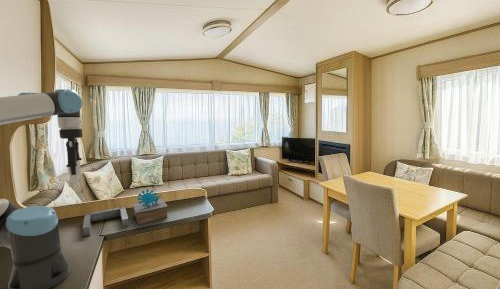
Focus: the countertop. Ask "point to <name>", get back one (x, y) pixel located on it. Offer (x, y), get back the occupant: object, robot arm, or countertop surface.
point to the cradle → (104, 215)
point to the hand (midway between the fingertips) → (76, 178)
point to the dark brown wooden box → (150, 211)
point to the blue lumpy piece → (148, 198)
